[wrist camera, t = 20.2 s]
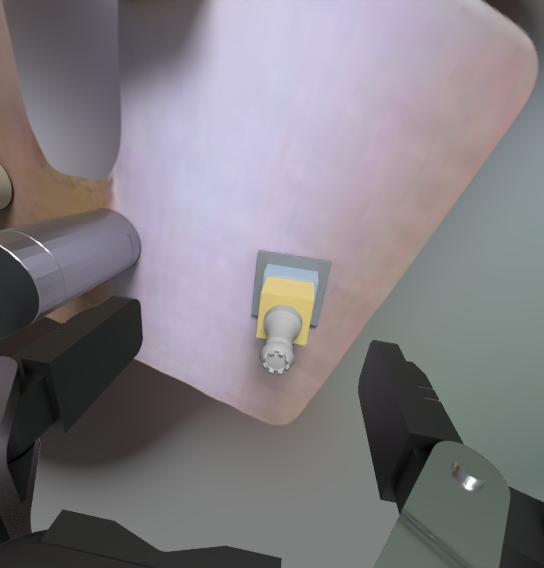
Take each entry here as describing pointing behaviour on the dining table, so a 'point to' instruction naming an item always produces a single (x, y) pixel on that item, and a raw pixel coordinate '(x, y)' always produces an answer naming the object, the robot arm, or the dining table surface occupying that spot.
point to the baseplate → (294, 263)
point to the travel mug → (4, 189)
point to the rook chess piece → (280, 338)
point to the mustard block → (287, 303)
